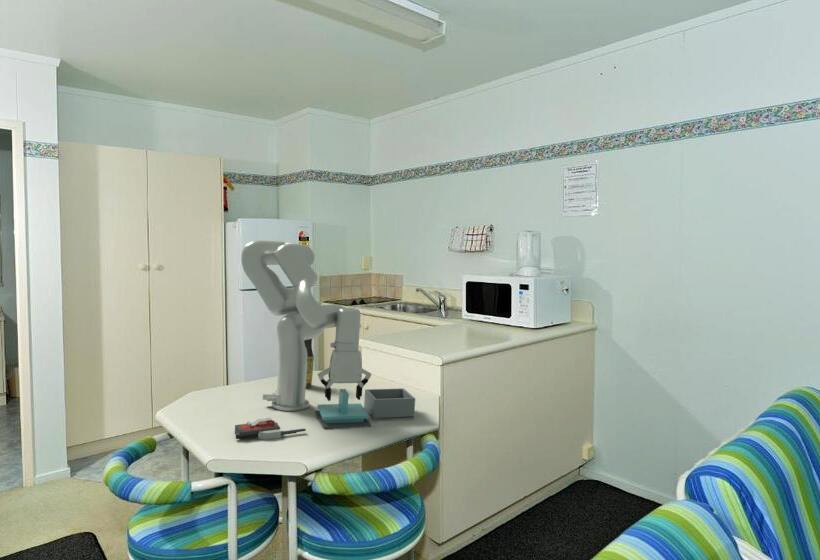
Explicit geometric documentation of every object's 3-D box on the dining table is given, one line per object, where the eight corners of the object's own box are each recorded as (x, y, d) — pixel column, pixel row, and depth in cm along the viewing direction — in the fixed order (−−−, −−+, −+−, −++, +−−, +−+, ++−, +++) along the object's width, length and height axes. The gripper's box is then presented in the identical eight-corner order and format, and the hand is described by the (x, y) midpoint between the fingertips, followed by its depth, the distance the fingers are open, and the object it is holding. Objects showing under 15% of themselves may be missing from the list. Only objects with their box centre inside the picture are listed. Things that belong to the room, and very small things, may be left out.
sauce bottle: (302, 389, 204) (305, 337, 203) (291, 385, 208) (294, 334, 207) (315, 386, 210) (318, 335, 208) (304, 382, 213) (307, 333, 212)
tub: (373, 421, 174) (374, 399, 173) (363, 409, 185) (365, 389, 185) (413, 419, 178) (415, 398, 178) (402, 407, 190) (403, 388, 189)
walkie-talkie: (237, 445, 148) (306, 435, 158) (238, 429, 147) (307, 421, 158) (229, 434, 155) (296, 425, 166) (230, 419, 155) (297, 411, 165)
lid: (322, 424, 165) (324, 397, 165) (317, 411, 177) (318, 386, 176) (368, 423, 170) (370, 396, 169) (360, 410, 181) (361, 385, 181)
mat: (323, 429, 163) (323, 427, 163) (314, 412, 178) (315, 410, 178) (371, 426, 168) (371, 424, 168) (358, 410, 183) (359, 408, 183)
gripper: (321, 349, 165) (318, 403, 167) (375, 349, 171) (372, 401, 172) (317, 344, 172) (314, 396, 174) (369, 344, 178) (366, 394, 179)
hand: (343, 399), depth 173 cm, fingers open, 9 cm apart
